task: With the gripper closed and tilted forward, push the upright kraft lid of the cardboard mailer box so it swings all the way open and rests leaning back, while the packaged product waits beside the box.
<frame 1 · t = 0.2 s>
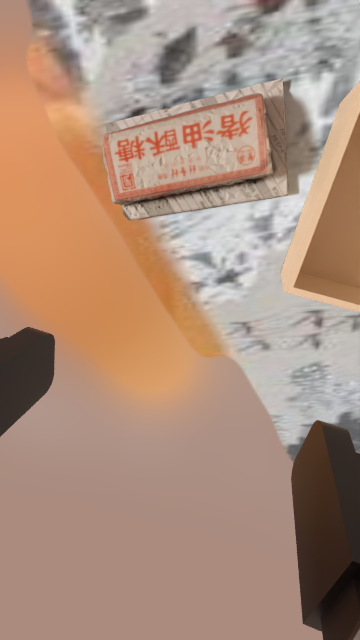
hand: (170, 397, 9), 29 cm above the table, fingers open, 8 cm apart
packaged product: (196, 159, 34), on the table
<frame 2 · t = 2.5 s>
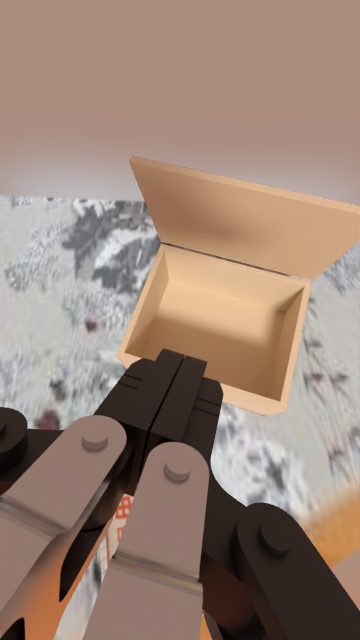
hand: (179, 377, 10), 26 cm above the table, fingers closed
packaged product: (149, 503, 33), on the table
mailer box: (212, 340, 38), on the table
lid: (240, 230, 26), point 14 cm above the table, hinge at 78.0°
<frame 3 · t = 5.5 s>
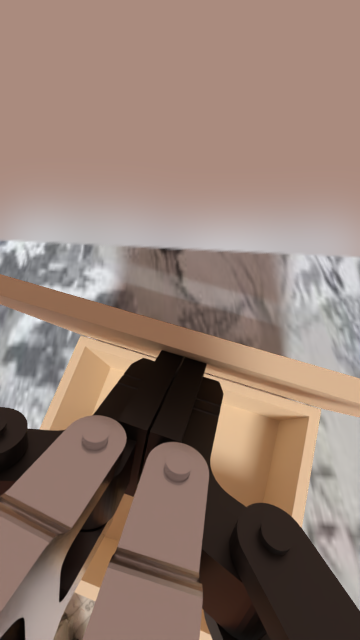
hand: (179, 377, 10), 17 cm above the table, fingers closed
mailer box: (170, 465, 25), on the table
lid: (190, 356, 14), point 14 cm above the table, hinge at 80.8°, touching gripper
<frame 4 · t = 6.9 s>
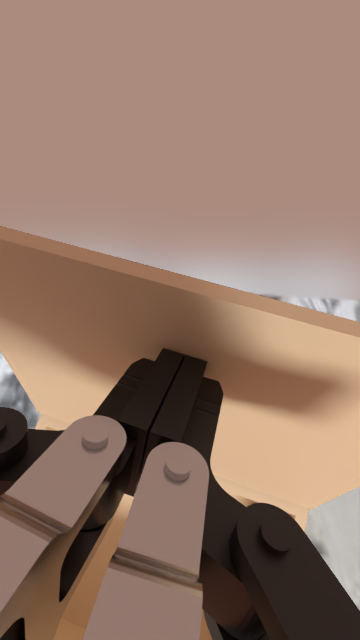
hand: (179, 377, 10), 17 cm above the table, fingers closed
mailer box: (147, 540, 23), on the table
lid: (176, 400, 13), point 14 cm above the table, hinge at 112.5°, touching gripper
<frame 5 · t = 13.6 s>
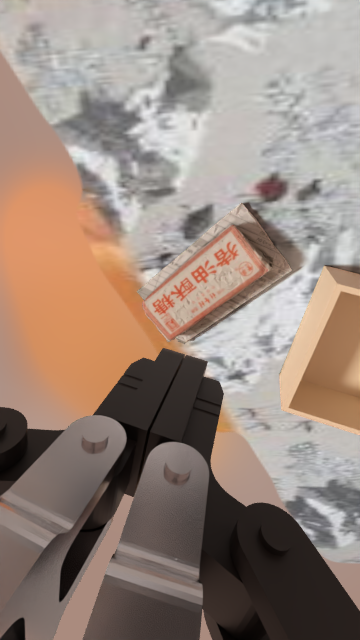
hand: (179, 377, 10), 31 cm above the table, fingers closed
packaged product: (210, 278, 42), on the table
mailer box: (351, 339, 40), on the table
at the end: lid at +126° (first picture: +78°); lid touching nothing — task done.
